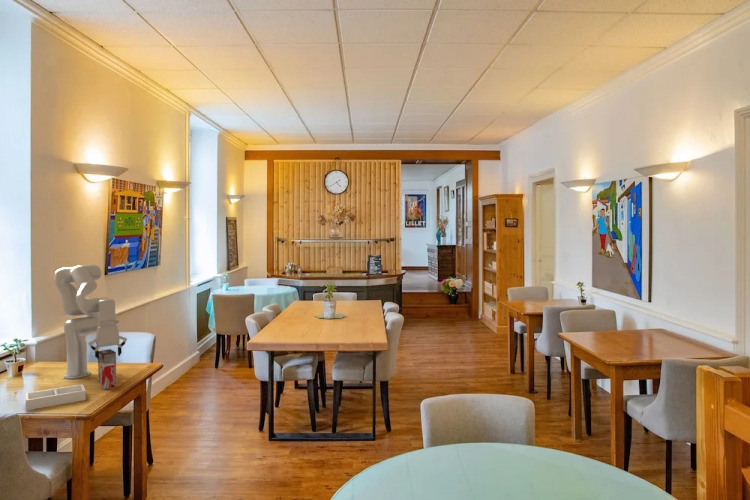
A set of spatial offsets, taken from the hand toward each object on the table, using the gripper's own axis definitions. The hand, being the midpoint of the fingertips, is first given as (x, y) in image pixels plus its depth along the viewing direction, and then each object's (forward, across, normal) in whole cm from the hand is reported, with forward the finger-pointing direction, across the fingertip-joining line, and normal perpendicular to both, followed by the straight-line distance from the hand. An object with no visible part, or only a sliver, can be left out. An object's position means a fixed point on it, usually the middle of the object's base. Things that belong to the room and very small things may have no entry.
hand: (108, 356), depth 250 cm
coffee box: (+16, -1, -13) cm, 20 cm away
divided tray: (+16, +23, +7) cm, 29 cm away
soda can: (+16, 0, -1) cm, 16 cm away
